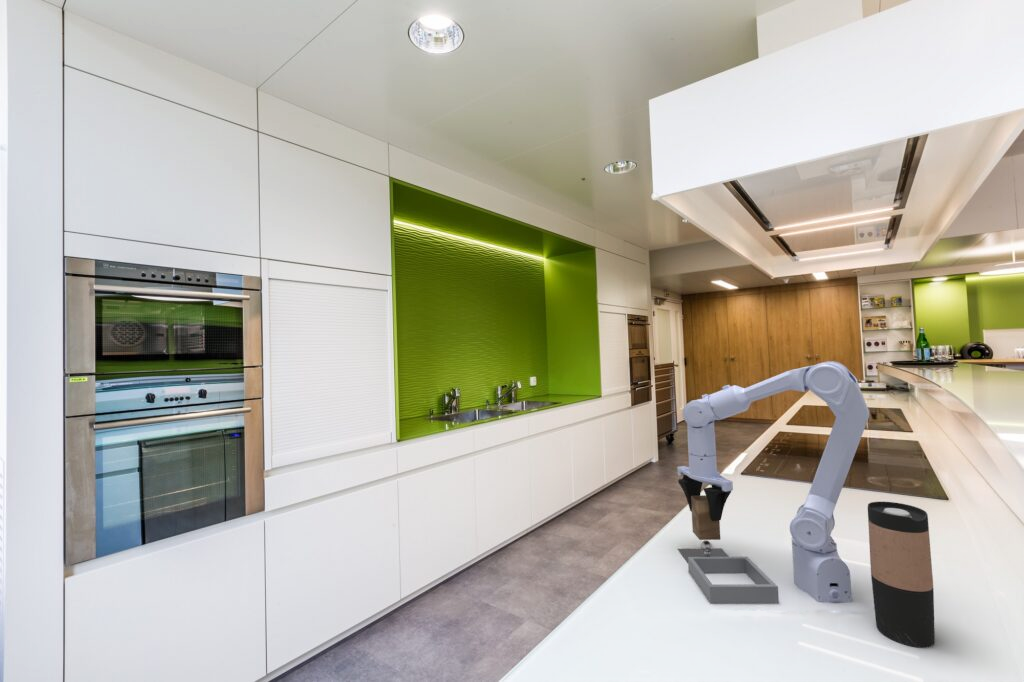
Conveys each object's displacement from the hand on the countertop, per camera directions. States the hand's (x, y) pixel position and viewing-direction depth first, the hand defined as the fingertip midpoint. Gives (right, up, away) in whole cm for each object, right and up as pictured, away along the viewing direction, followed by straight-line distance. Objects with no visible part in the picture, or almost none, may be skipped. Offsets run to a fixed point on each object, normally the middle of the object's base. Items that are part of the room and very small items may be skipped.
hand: (705, 515), depth 99 cm
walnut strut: (0, -4, 0) cm, 4 cm away
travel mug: (+21, -9, -27) cm, 35 cm away
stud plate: (0, -10, 0) cm, 10 cm away
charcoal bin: (0, -10, -12) cm, 16 cm away
